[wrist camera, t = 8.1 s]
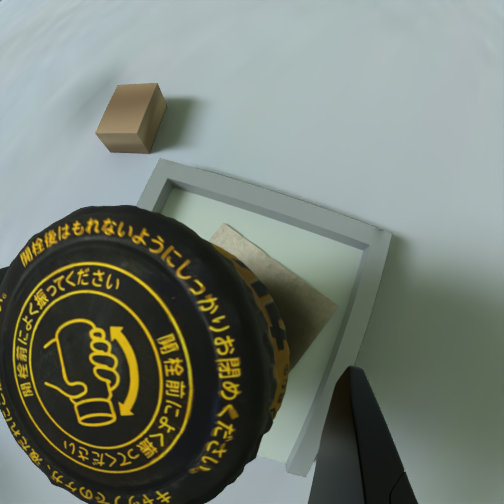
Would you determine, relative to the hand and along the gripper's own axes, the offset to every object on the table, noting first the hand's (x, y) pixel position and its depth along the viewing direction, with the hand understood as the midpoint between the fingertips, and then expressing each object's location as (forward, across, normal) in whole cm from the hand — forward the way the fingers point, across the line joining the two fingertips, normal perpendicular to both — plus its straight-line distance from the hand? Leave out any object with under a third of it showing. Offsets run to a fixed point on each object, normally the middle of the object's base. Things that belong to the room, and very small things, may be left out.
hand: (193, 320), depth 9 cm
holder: (+5, 0, +5) cm, 8 cm away
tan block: (+12, +10, -1) cm, 16 cm away
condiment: (+5, 0, +5) cm, 7 cm away
